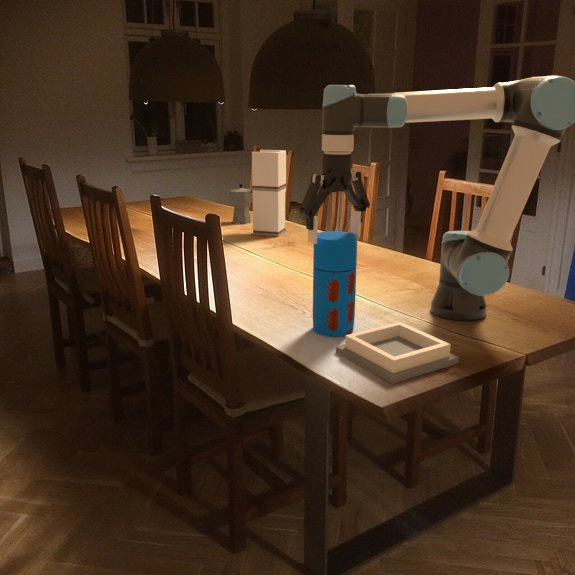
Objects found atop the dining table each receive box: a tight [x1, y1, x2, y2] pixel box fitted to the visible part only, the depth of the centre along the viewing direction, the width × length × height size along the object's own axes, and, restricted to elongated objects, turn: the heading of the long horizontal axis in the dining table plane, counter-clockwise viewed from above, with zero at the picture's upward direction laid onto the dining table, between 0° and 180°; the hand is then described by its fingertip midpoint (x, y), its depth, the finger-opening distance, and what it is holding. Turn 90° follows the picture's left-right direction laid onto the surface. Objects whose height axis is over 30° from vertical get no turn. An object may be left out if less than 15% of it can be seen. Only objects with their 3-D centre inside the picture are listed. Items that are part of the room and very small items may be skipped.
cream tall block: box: [251, 149, 287, 238], centre depth 269 cm, size 11×11×35 cm
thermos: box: [312, 230, 358, 338], centre depth 161 cm, size 11×11×25 cm
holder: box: [335, 321, 460, 385], centre depth 146 cm, size 20×20×4 cm
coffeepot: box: [227, 183, 253, 225], centre depth 294 cm, size 15×9×18 cm, turn 117°
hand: (334, 239), depth 157 cm, fingers open, 13 cm apart
